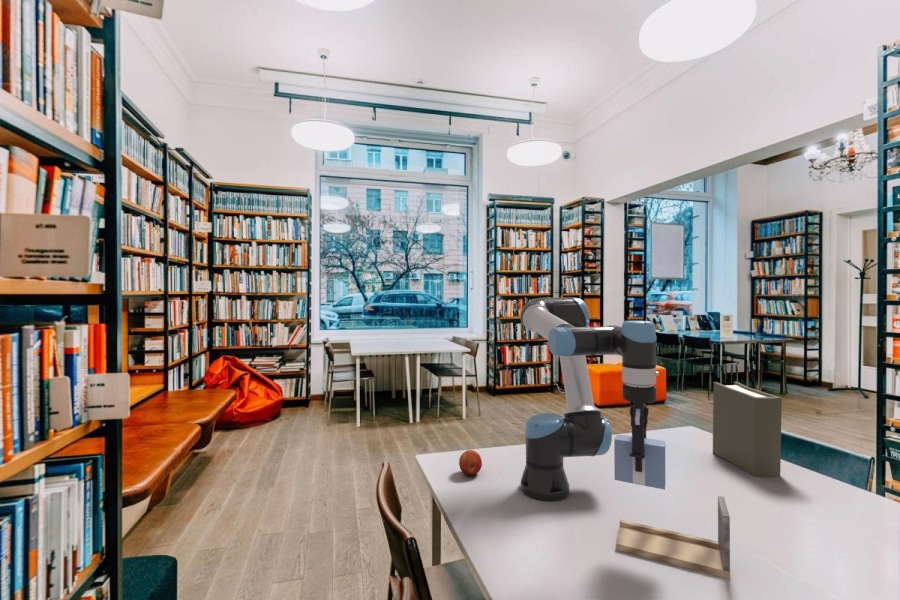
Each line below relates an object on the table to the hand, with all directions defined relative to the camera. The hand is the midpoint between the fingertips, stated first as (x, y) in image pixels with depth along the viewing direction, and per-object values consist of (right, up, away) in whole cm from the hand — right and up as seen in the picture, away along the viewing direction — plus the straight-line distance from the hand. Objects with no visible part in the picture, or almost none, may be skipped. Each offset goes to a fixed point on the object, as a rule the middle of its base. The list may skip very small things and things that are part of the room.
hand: (639, 479), depth 100 cm
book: (+61, -16, +49) cm, 80 cm away
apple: (-39, -17, +43) cm, 60 cm away
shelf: (+6, -17, -2) cm, 18 cm away
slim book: (0, 0, 0) cm, 0 cm away
